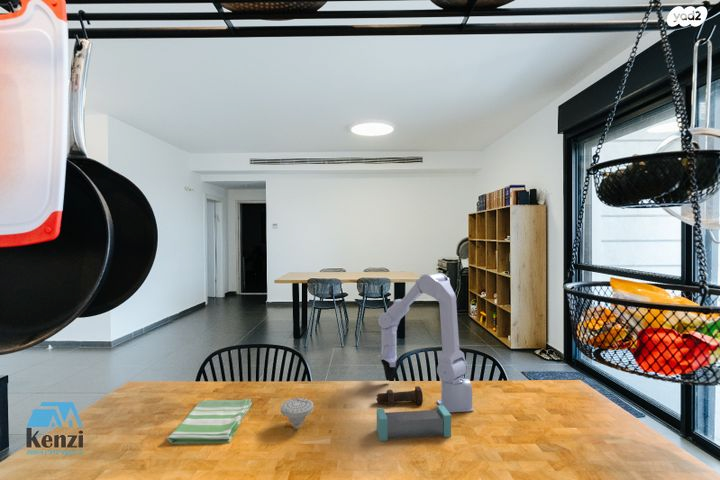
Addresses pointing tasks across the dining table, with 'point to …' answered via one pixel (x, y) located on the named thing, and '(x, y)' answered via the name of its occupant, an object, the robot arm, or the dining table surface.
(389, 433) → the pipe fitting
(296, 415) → the showerhead
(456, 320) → the robot arm
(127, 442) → the dining table surface
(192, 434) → the dish towel
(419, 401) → the bolt
